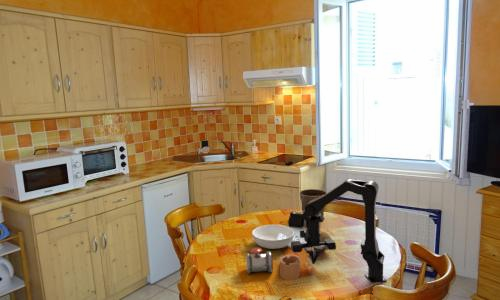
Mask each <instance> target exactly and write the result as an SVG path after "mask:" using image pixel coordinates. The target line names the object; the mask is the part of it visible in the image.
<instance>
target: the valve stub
mask: <svg viewBox="0 0 500 300" xmlns="http://www.w3.org/2000/svg"><path fill="white" fill-rule="evenodd" d="M262 252H263V249H262V247H252V248H250V253H251V254H250V253H245V254H246V255H245V256H246V259H245V260H246V261H245V262H246V272H247V274H251V273H254V272H255V273H256V272H267V273H273V271H274V269H273V268H274V266H273V254H272V252H271V250H270V251H266V253H262Z"/></svg>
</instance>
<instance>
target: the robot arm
mask: <svg viewBox="0 0 500 300" xmlns="http://www.w3.org/2000/svg"><path fill="white" fill-rule="evenodd" d="M347 192H351V193H353V194H356V195H361V197H362V201H363V205H364V222H365V224H364V225H365V226H364V228H365V229H364V232H365V233H364V234H365V235H364V236H365V237H364V238H365V239H364V238H363V239H362V240H361V242H360V250H361V252H360V255H361V257H362V259H363V260H364V261H365V262H366V264H367V267H368V269H367V272H365V273H364V276H365V277H366V278H367V280H369V282H370V283H379V282H387V278H385V276H384V260H385V255H384V254H383V253H382V251H380V248H379V242H378V240H377V239H378V238H377V236H376V232H377V231H376V230H377V229H376V226H377V225H376V220H377V219H376V204H377V198H378V193H379V184H378V182H376V181H374V180H357V179H356V180H355V179H350V178H347V179H345V180H344V181H343V182H342V183H340V184H339V185H337V186H336V187H334V188H332V189H330V191H328V192H327V194H325V195H324V196H321V197H318V198H316V199H313V200H311V201H310V202H309V203H308V204H307V205H306V206H305V211H304V212H303V213H302V212H297V211H296V212H295V211H290V213H289V217H288V221H287V224H288V227H289V228H295V229H299V238H300V239H303V240H304V241H305V242H304V243H301V240H294V241H293V240H292V241H291V243H290V248H291V250H292V252H293V253H301V252H302V251H303V249H304V252H305V253H306V254H308V256H309V259H310V261H311V264H312V265H315V264H316V262H317V260H318V259H319V256H320V255H321V254H322V253H324V252H323V250H322V247H326V246H327V248H328V250H330V251H332V250H334V251H335V250H337V243H336V242H335V240H334V239H333V238H331V239H324V240H323V242H320V231H321V227H320V226H321V225H320V223H323V222H324V221H325V217H323V216H321V214H320V215H319V216H315V215H317V214H318V213H319V212H320V211H321V210H322V209H323V208H324V209H325V207H326V206H327V205H329V204H330V203H331V202H333V201H335V200H336V199H338V198H340V197H341V196H343V195H344V194H346V193H347ZM309 216H311V217H309ZM304 227H305V230H304ZM302 229H303V230H302Z"/></svg>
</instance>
